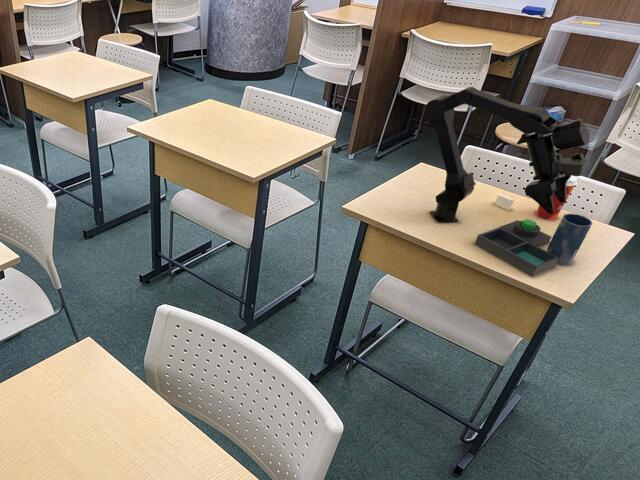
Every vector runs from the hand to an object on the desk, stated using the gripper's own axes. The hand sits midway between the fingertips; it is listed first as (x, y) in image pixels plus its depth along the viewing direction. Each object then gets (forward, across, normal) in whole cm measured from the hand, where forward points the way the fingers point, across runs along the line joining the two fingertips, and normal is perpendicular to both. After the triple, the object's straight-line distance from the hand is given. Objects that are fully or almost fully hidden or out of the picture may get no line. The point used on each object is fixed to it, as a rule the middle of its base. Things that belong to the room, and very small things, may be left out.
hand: (557, 207), depth 151 cm
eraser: (+3, +20, +23) cm, 31 cm away
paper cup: (+10, +24, +13) cm, 29 cm away
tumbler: (+15, +1, +3) cm, 16 cm away
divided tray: (+10, -7, +11) cm, 17 cm away
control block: (+9, +6, +13) cm, 17 cm away
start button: (+6, +6, +11) cm, 14 cm away
